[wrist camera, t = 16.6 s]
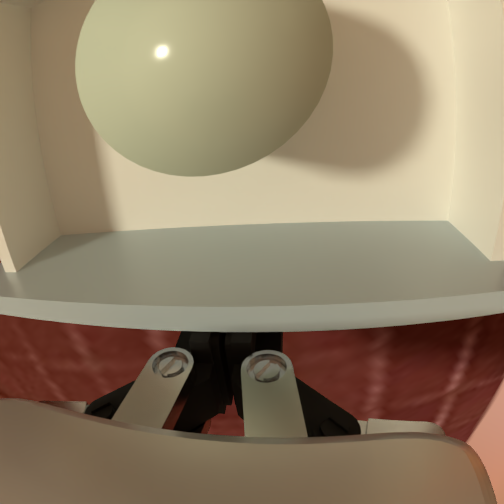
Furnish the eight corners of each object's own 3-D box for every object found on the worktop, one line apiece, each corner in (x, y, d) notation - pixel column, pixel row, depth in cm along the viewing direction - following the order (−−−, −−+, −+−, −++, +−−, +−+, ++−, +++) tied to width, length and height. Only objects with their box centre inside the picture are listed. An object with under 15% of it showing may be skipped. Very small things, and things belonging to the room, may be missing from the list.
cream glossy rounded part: (316, 143, 11) (338, 171, 7) (152, 155, 11) (91, 188, 7) (305, -15, 8) (318, -71, 4) (138, 7, 9) (73, -24, 5)
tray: (472, 230, 12) (547, 304, 7) (46, 245, 15) (-26, 309, 9) (465, -39, 7) (544, -77, 1) (14, 13, 9) (-76, 8, 3)
